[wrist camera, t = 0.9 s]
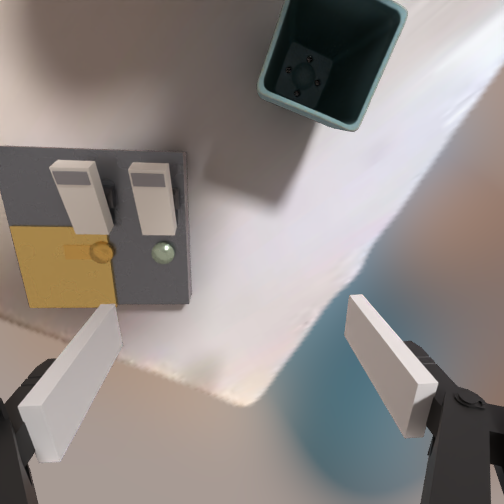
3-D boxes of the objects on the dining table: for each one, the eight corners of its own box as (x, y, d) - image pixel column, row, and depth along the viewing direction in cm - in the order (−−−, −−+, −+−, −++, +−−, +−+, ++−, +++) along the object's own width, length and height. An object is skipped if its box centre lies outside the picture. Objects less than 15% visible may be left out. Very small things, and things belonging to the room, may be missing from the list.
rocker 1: (57, 159, 26) (48, 168, 25) (94, 160, 26) (87, 169, 25) (82, 225, 30) (75, 235, 29) (113, 225, 31) (108, 235, 29)
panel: (8, 145, 30) (-18, 145, 27) (186, 152, 31) (181, 152, 28) (42, 296, 36) (24, 310, 33) (191, 295, 37) (188, 309, 34)
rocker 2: (132, 162, 26) (127, 170, 25) (168, 163, 27) (165, 171, 25) (146, 226, 31) (142, 235, 30) (176, 226, 31) (174, 236, 30)
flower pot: (323, 137, 32) (357, 134, 23) (247, 106, 30) (254, 91, 22) (359, 49, 29) (412, 9, 21) (278, 10, 28) (299, -50, 19)
